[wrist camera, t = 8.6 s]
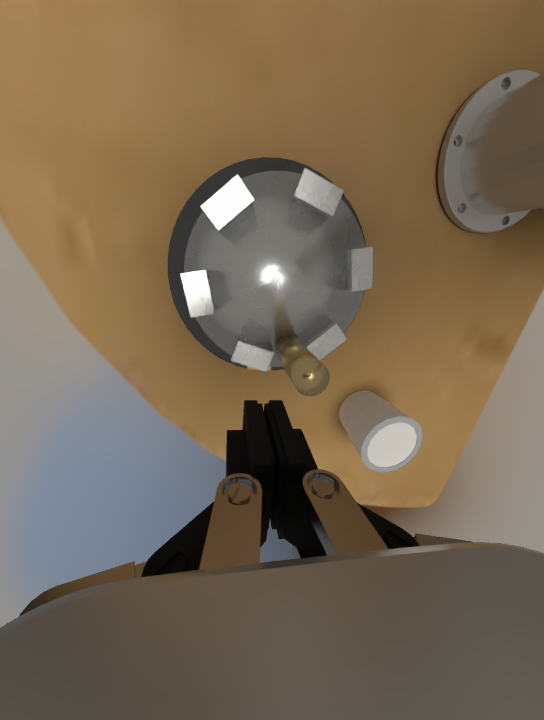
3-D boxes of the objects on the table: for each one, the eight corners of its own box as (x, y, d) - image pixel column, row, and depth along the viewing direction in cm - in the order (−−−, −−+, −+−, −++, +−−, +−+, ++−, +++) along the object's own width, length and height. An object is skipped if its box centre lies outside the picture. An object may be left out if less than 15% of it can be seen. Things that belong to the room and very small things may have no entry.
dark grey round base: (379, 193, 25) (393, 187, 23) (332, 370, 31) (340, 378, 29) (177, 138, 21) (173, 125, 19) (167, 354, 27) (162, 362, 25)
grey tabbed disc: (166, 190, 20) (131, 144, 12) (351, 172, 22) (433, 120, 14) (208, 369, 26) (204, 424, 18) (353, 342, 28) (413, 379, 19)
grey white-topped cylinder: (352, 377, 32) (385, 408, 26) (394, 396, 34) (436, 428, 28) (323, 424, 34) (349, 464, 27) (366, 439, 36) (399, 479, 30)
